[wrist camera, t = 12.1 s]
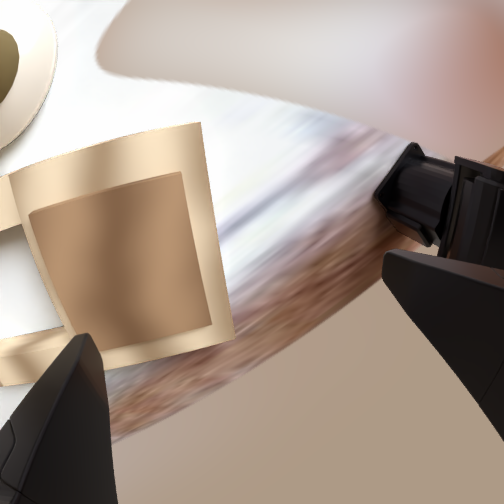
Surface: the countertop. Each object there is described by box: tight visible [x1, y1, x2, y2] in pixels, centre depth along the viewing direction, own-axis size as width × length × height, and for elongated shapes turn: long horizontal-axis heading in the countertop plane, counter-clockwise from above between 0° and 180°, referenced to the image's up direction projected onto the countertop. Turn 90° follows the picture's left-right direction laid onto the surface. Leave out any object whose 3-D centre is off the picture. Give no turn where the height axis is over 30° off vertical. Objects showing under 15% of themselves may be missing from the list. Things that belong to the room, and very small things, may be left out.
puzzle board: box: [0, 122, 236, 387], centre depth 17 cm, size 22×15×3 cm
